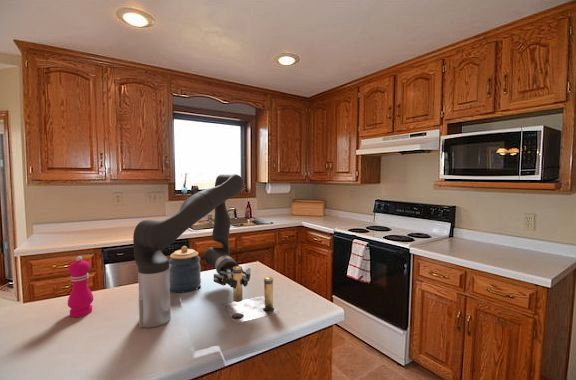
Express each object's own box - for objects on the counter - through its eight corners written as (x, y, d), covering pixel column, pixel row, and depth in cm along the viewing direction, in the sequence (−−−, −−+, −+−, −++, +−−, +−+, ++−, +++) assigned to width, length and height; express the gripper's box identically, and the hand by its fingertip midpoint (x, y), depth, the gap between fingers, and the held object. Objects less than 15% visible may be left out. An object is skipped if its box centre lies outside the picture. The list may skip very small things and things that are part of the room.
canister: (200, 279, 129) (200, 241, 128) (201, 291, 116) (200, 248, 115) (170, 283, 124) (169, 243, 123) (167, 295, 112) (166, 251, 111)
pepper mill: (91, 306, 103) (89, 252, 102) (95, 313, 98) (93, 256, 96) (66, 312, 98) (64, 256, 97) (69, 320, 93) (67, 260, 91)
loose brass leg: (234, 302, 91) (234, 269, 90) (232, 298, 94) (231, 266, 93) (244, 300, 92) (243, 268, 92) (241, 297, 95) (240, 265, 94)
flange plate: (233, 327, 89) (233, 323, 88) (222, 307, 102) (222, 304, 102) (279, 316, 96) (279, 312, 96) (263, 298, 109) (263, 295, 109)
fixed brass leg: (266, 312, 96) (266, 280, 95) (262, 308, 99) (262, 277, 98) (274, 310, 97) (274, 279, 97) (271, 306, 100) (270, 276, 99)
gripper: (207, 260, 102) (218, 276, 87) (244, 255, 108) (260, 269, 93) (208, 280, 103) (218, 300, 87) (245, 274, 109) (261, 291, 93)
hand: (240, 284), depth 90 cm, fingers closed on loose brass leg, 3 cm apart
